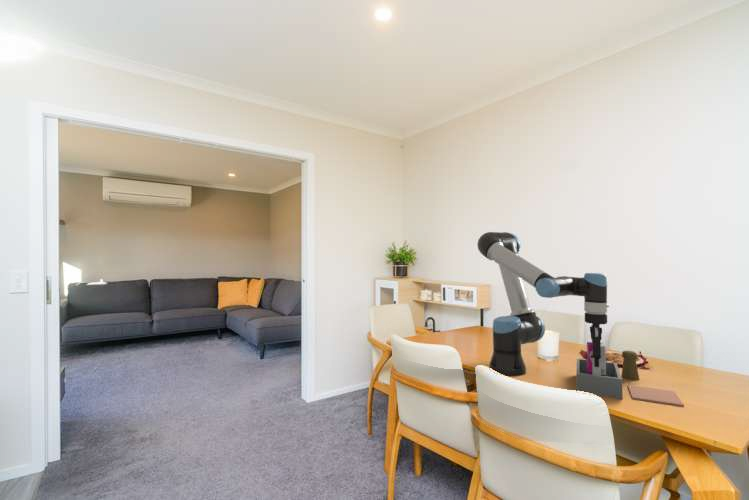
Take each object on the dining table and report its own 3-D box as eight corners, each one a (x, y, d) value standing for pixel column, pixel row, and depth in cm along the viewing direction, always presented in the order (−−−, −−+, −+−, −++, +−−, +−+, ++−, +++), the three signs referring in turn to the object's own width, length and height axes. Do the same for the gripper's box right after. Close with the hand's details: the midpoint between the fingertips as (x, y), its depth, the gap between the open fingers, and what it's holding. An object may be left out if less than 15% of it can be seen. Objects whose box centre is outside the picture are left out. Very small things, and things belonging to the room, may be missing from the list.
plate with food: (580, 353, 188) (580, 346, 188) (641, 357, 177) (641, 350, 177) (586, 367, 166) (586, 359, 166) (657, 373, 155) (656, 364, 155)
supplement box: (603, 371, 140) (603, 342, 140) (606, 376, 135) (606, 346, 135) (586, 369, 143) (586, 341, 143) (588, 374, 138) (588, 345, 138)
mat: (632, 398, 126) (632, 397, 126) (627, 386, 138) (627, 384, 138) (683, 406, 119) (683, 404, 119) (674, 392, 131) (674, 391, 131)
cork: (642, 380, 144) (641, 353, 144) (625, 379, 145) (624, 352, 145) (634, 375, 150) (633, 349, 150) (618, 375, 151) (617, 349, 151)
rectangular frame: (576, 392, 132) (576, 373, 133) (577, 375, 152) (576, 358, 152) (622, 399, 125) (622, 379, 126) (616, 380, 145) (616, 362, 145)
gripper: (608, 317, 129) (609, 381, 129) (605, 310, 146) (606, 366, 145) (584, 315, 133) (585, 378, 133) (584, 308, 149) (584, 364, 149)
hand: (596, 372), depth 139 cm, fingers closed on supplement box, 6 cm apart
